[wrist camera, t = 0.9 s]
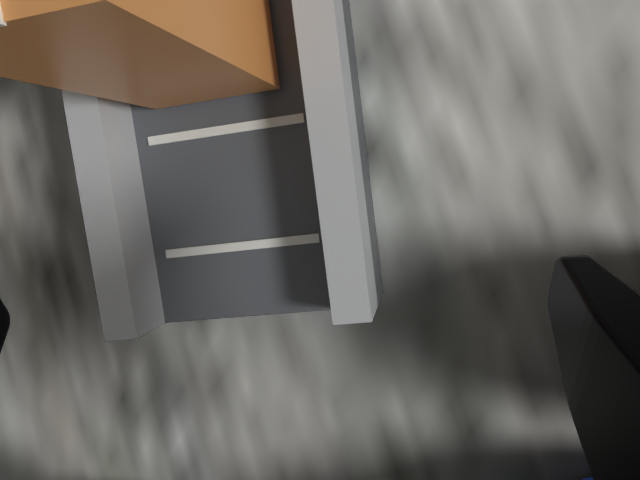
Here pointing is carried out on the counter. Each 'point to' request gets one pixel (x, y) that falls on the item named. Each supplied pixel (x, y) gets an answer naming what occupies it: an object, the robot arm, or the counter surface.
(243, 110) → the fader console
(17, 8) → the fader knob
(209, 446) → the counter surface
